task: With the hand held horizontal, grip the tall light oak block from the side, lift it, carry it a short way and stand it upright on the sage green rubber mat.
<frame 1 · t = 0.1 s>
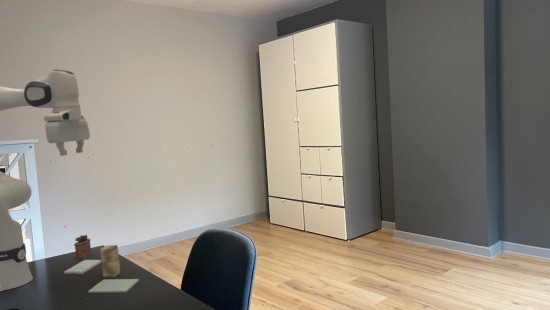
hand: (71, 154, 149), 48 cm above the table, tool pointing down, fingers open, 8 cm apart
mat: (114, 286, 148), on the table
oak block: (111, 274, 160), on the table
external hard drive: (83, 269, 170), on the table
lighter: (84, 258, 183), on the table
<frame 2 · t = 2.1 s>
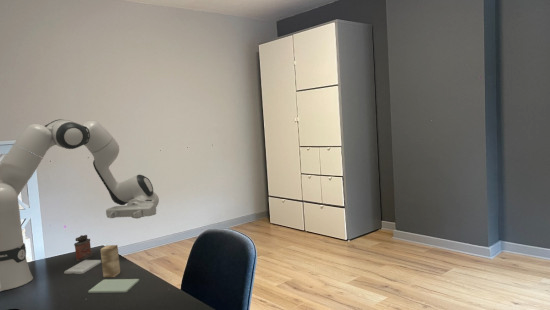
hand: (122, 216, 170), 20 cm above the table, tool horizontal, fingers open, 8 cm apart
nothing on the table moved.
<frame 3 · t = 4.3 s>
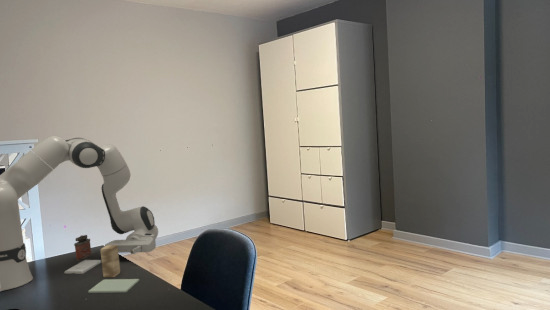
hand: (121, 252, 168), 6 cm above the table, tool horizontal, fingers open, 8 cm apart
nothing on the table moved.
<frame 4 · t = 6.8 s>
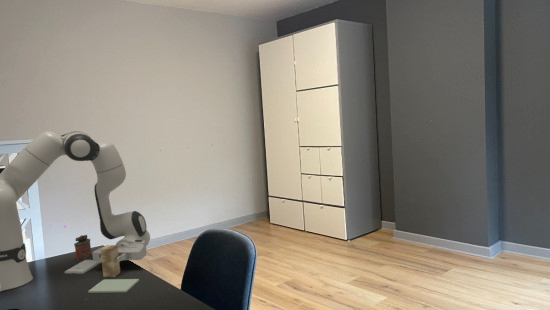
hand: (109, 260, 159), 6 cm above the table, tool horizontal, fingers closed on oak block, 4 cm apart
oak block: (111, 274, 160), on the table, touching gripper
everything else where it was.
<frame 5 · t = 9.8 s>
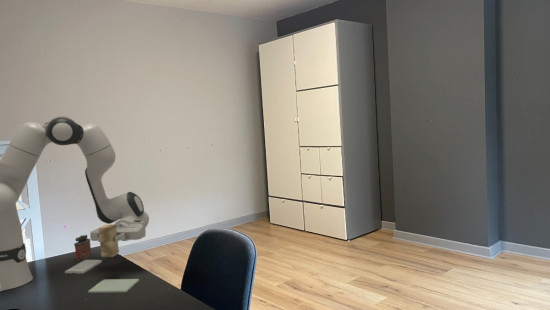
hand: (107, 239, 155), 15 cm above the table, tool horizontal, fingers closed on oak block, 4 cm apart
oak block: (110, 254, 156), point 9 cm above the table, touching gripper
everything else where it was.
when the fingers open (8 cm above the table, at t = 12.6 s): oak block drops 1 cm, resting on mat.
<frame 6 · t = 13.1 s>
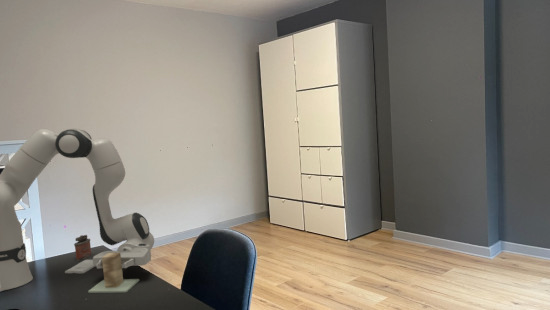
hand: (111, 266, 147), 8 cm above the table, tool horizontal, fingers open, 8 cm apart
oak block: (114, 284, 148), point 1 cm above the table, touching mat
everything else where it was.
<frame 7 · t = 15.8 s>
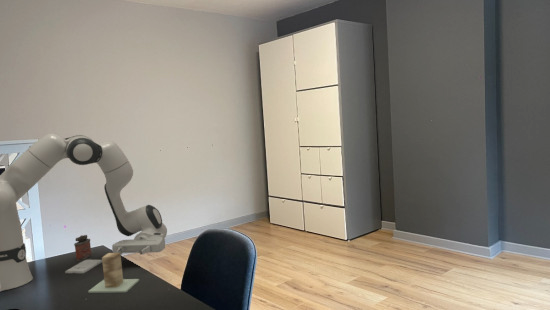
hand: (129, 252, 160), 8 cm above the table, tool horizontal, fingers open, 8 cm apart
nothing on the table moved.
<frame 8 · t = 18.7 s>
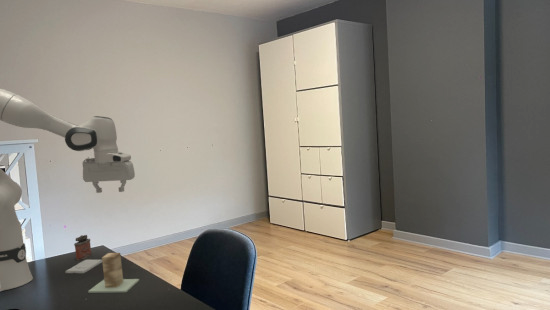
hand: (110, 192, 164), 31 cm above the table, tool pointing down, fingers open, 8 cm apart
nothing on the table moved.
at the end: oak block inside the target area on the mat (0.0 cm from its centre), point 0.6 cm above the mat's base; oak block tilted 0°; the gripper is holding nothing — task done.
